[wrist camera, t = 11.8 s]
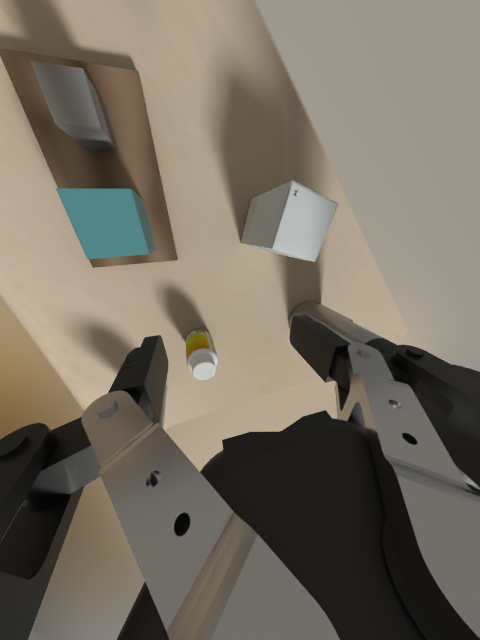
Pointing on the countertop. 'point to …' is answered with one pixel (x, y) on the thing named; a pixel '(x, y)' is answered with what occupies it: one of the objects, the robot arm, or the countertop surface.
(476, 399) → the robot arm
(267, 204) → the supplement box
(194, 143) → the countertop surface
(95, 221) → the teal block
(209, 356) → the supplement bottle
